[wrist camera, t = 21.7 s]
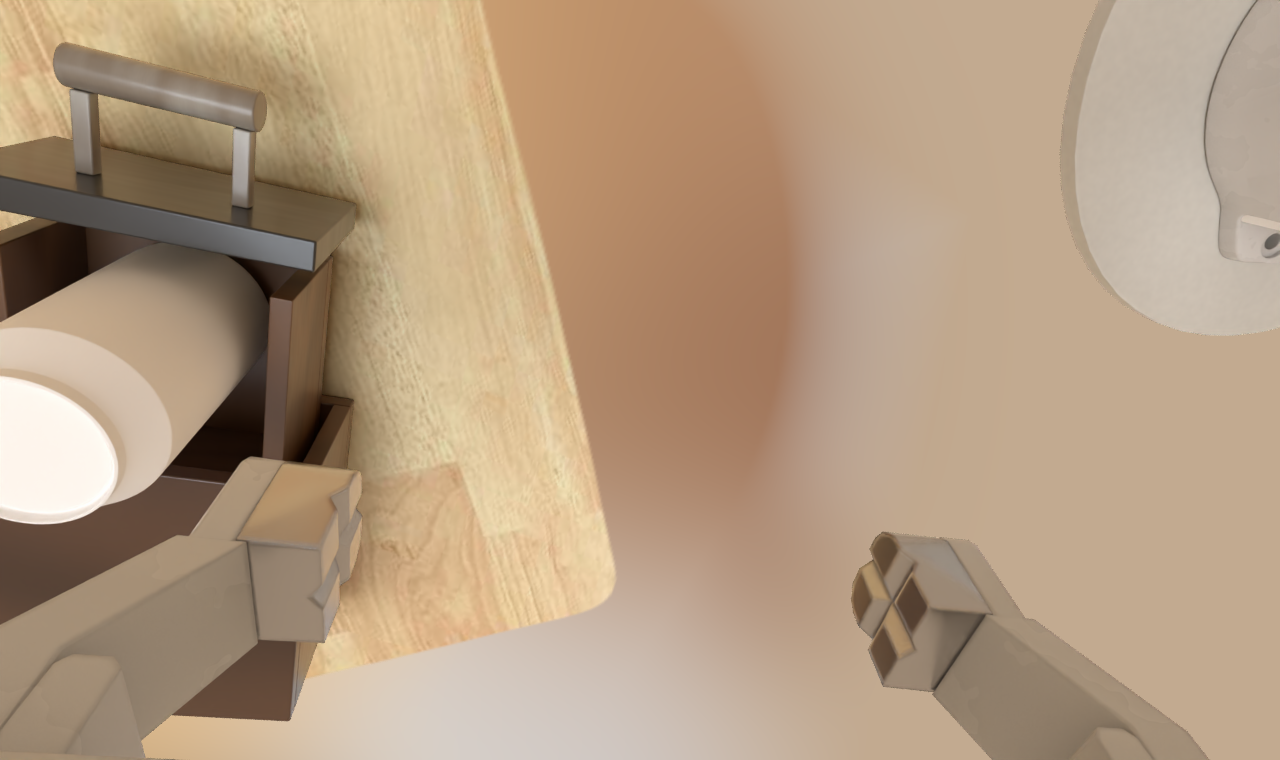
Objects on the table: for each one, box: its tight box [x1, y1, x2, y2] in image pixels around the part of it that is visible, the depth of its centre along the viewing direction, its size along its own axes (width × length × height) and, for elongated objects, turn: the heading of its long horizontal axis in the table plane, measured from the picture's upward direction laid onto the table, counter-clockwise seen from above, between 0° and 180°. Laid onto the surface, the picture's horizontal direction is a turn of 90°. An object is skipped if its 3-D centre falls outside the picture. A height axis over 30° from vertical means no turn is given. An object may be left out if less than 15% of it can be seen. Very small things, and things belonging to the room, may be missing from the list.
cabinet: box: [0, 395, 354, 721], centre depth 32 cm, size 14×13×8 cm
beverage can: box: [0, 243, 269, 524], centre depth 24 cm, size 6×6×12 cm
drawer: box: [0, 42, 356, 473], centre depth 27 cm, size 17×11×6 cm
